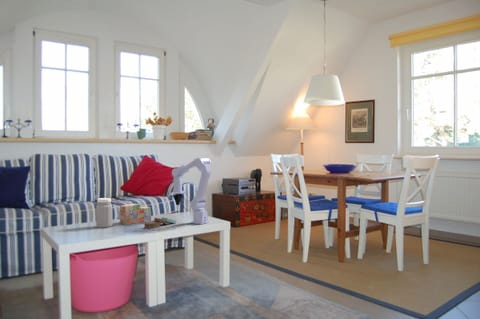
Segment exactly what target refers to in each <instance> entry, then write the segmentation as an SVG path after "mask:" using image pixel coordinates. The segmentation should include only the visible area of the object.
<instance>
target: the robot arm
mask: <svg viewBox="0 0 480 319" xmlns="http://www.w3.org/2000/svg"><path fill="white" fill-rule="evenodd" d="M211 166H212V161H211V159H210V158H209V157H196V158H194V159H193V160H192V161H190V162H189V163H188V164H186V163H183V164H182V165H180V166H178V167H177V168H173V169H172V171H171V175H172V177H173V191H172V192H169V196H172V197H173V199H174V202H175V205H176V206H179V205H180V204H181V201H182V198H183V197H184V195H183V194H185V195H186V190H183V177H184V175H185V174H186V173H188V172H190V170H191V169H192V168H195V167H196V168H197V169H198V171H199V172H200V174H201V175H200V180H199V182H198V187H197V191H196V194H195V196H193V198H192V200H191V202H190V208H191V210H192V221H190V222H189V223H190V224H197V225H205V224H209V221H208V216H209V215H208V211H207V210H205V208H206V206H207V198H206V197H205V195H206V192H207V187H208V185H209V184H208V183H209V179H210V175H211Z"/></svg>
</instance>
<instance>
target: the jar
mask: <svg viewBox="0 0 480 319" xmlns="http://www.w3.org/2000/svg"><path fill="white" fill-rule="evenodd" d="M95 211H96V213H95V217H96V218H95V222H96V225H95V226H96V227H97V228H98V229H107V228H108V227H109V228H112V226H113V223H114V222H113V205H112V198H111V197H100V198H97V204H96V206H95Z"/></svg>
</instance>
